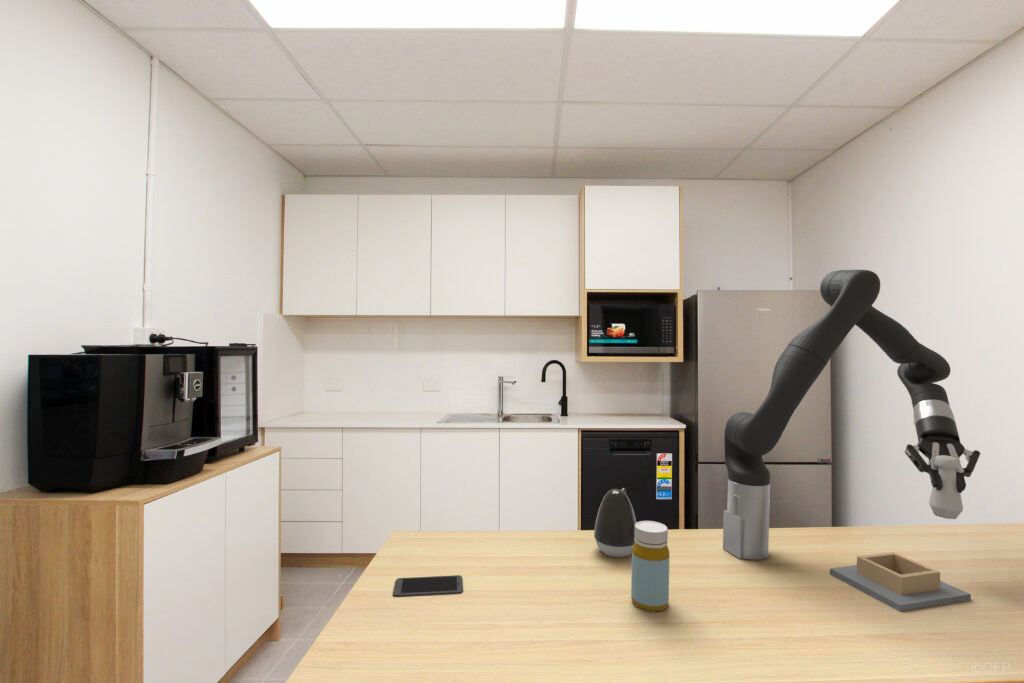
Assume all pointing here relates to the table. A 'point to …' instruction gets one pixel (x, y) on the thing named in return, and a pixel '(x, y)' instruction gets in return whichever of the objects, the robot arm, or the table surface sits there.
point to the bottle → (650, 566)
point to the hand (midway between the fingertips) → (949, 489)
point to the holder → (899, 581)
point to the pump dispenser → (615, 524)
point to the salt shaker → (946, 489)
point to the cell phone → (428, 586)
